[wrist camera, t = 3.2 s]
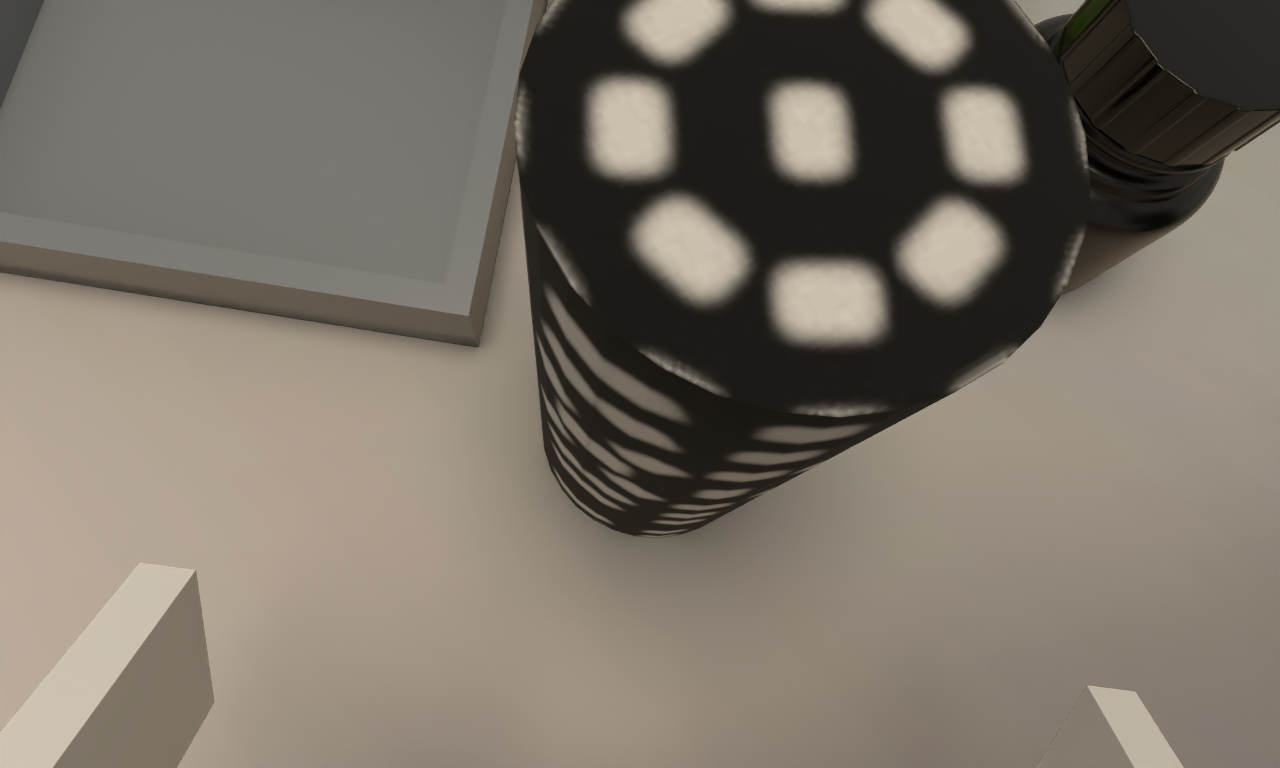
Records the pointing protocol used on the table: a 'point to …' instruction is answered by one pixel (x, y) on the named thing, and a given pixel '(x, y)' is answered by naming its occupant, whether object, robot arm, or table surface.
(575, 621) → the table surface
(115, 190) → the tray
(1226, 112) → the ink bottle
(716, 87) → the white-spotted black cylinder
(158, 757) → the robot arm
